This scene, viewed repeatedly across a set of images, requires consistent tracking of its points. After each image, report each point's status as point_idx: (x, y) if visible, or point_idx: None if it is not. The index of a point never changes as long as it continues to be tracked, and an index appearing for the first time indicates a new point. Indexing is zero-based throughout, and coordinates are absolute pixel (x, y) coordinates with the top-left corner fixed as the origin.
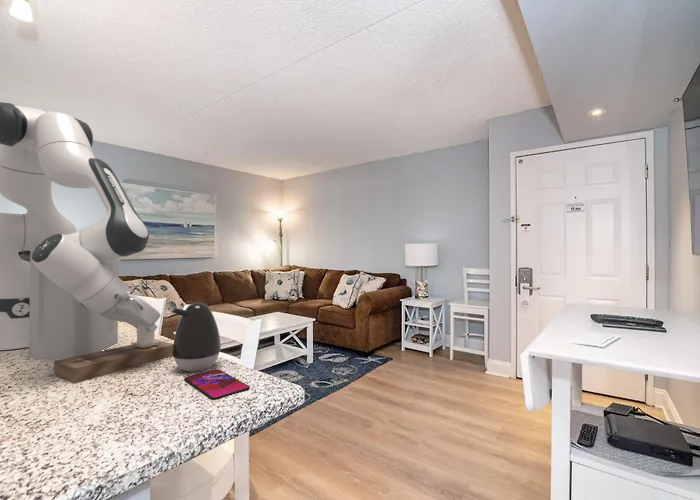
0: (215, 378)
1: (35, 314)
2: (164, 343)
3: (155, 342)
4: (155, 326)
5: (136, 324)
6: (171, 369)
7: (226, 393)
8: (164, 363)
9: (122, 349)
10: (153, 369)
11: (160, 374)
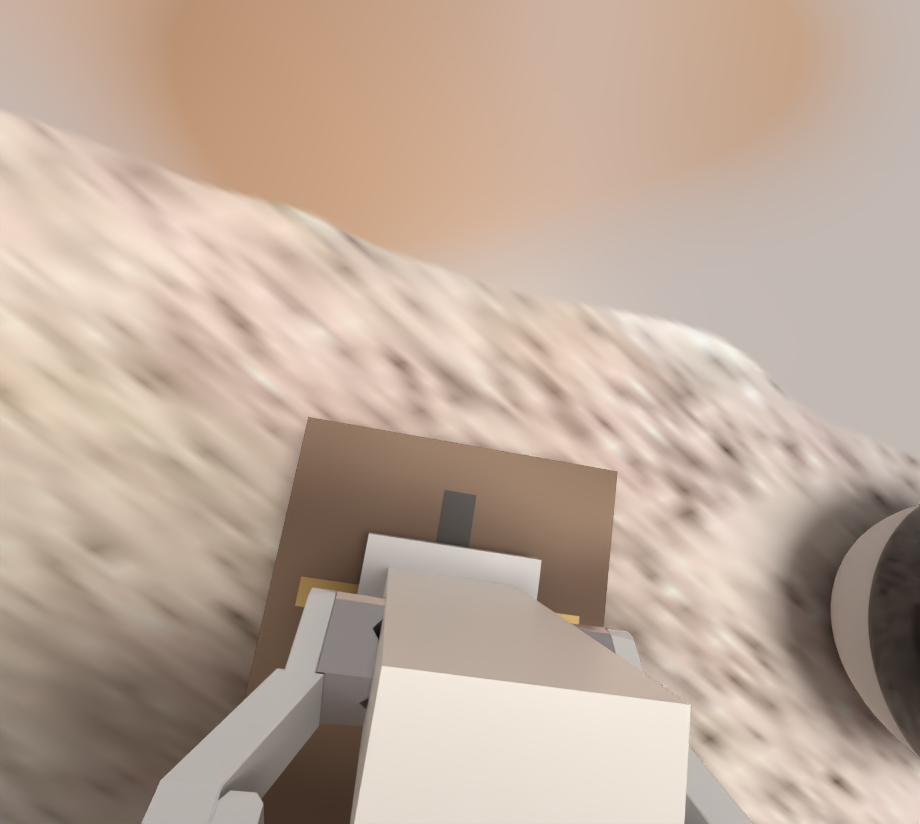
0: None
1: None
2: (509, 485)
3: (530, 587)
4: (633, 660)
5: (315, 714)
6: (794, 699)
7: None
8: (655, 628)
9: (344, 777)
10: (702, 748)
11: (819, 796)
